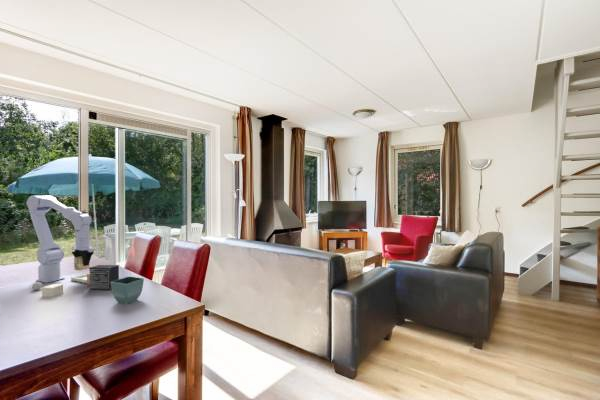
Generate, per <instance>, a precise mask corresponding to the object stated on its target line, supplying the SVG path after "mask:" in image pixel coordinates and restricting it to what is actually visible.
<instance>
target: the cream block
mask: <svg viewBox="0 0 600 400" xmlns="http://www.w3.org/2000/svg"><path fill="white" fill-rule="evenodd" d="M62 294H64V284H63V283H61V284H60V283H59V284H57V283H55V284H53V283H52V284H50V285H47V286H42V288H41V295H42V297H44V298H45V297H46V298H48V297H49V298H54V297H56V296H59V295H62Z"/></svg>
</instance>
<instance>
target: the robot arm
mask: <svg viewBox="0 0 600 400" xmlns="http://www.w3.org/2000/svg"><path fill="white" fill-rule="evenodd" d="M26 206H27V209H28V212H29V216H30V219H31V222H32V225H33V228H34V231H35V233H36V235H37V239H38V242H39V245H40V246H39V248H38V249H37V250H36V251H35V252H36V254H37V256H36V257H37V261H38V263H39V264H40V265H39V266H38V269H37V270H38V272H37V273H38V279H36V282H40V283H46V284H47V283H51V282H55V281H61V280H63V279H65V277H62V276H61V262H62V260H63V259H64V257H65V251H64V250H63V249H62V248H61V246H60V244H58V243H56V242H55V241H54V239H53V235H52V233H51V232H52V231H51V229H50V226H49V223H48V221H47V218H46V213H48V212H49V211H50V210H51V209H53V210H55V211H58V212H59V213H61V216H62V217H63V218H65V219H67V220H69V221H70V222H71V223H72V225H73V228H74V232H75V233H74V234H75V245H73V246H71V250H72V251H71V254H72V255H73V257H74V258H75V257H80V256H82V260H83V265H84V266H87V265H90V262H91V258H92V257H93V255H94V253H95V252H94V251H95V248H94V247H92V246H90V243H91V242H90V225H92V222H93V218H92V215H90V214H88V213H85V214H84V213H83V212H82V211H79V210H77V209H76V208H75V207H74V206H66V205H65V204H63V203H62V202H60V201H58V200H57V197H55V196H53V195H50V194H49V195H30V196H29V197H28V198H27V200H26Z"/></svg>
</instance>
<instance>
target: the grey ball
mask: <svg viewBox="0 0 600 400" xmlns="http://www.w3.org/2000/svg"><path fill="white" fill-rule="evenodd" d="M42 288H43V284H42V282H41V281H36V282H35V283H32V285H31V289H32V290H33V291H38V290H42Z"/></svg>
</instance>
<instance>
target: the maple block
mask: <svg viewBox="0 0 600 400" xmlns="http://www.w3.org/2000/svg"><path fill="white" fill-rule="evenodd" d="M73 264H74V267H73V268H74V269H73V270H75V271H83V270H88V269H89V268H90V267H91V266H90V264H89V265H87V266H84V265H83V260H82V256H80V257H74V258H73Z"/></svg>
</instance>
